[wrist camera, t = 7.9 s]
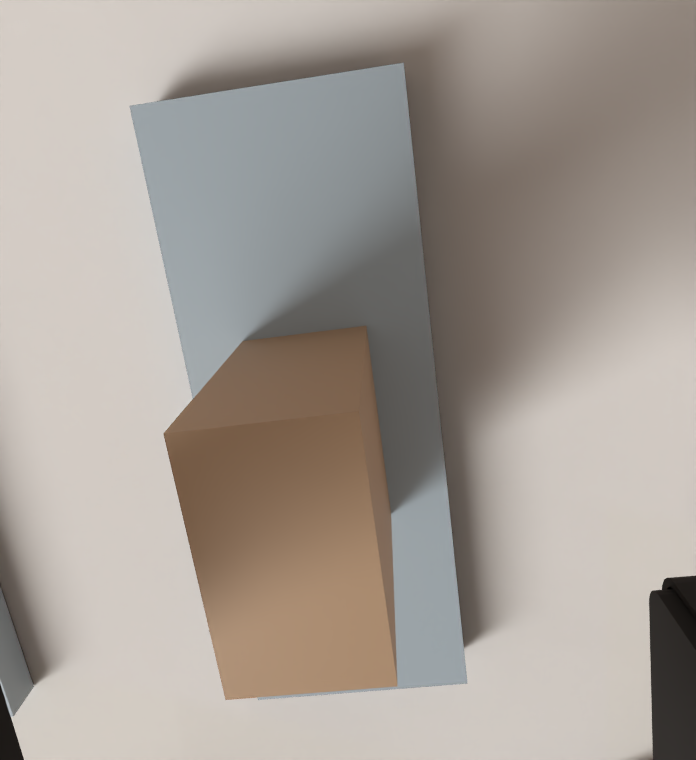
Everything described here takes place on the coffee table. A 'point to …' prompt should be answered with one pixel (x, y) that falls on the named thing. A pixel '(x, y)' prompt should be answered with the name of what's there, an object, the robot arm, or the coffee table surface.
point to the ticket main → (12, 663)
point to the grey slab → (306, 384)
